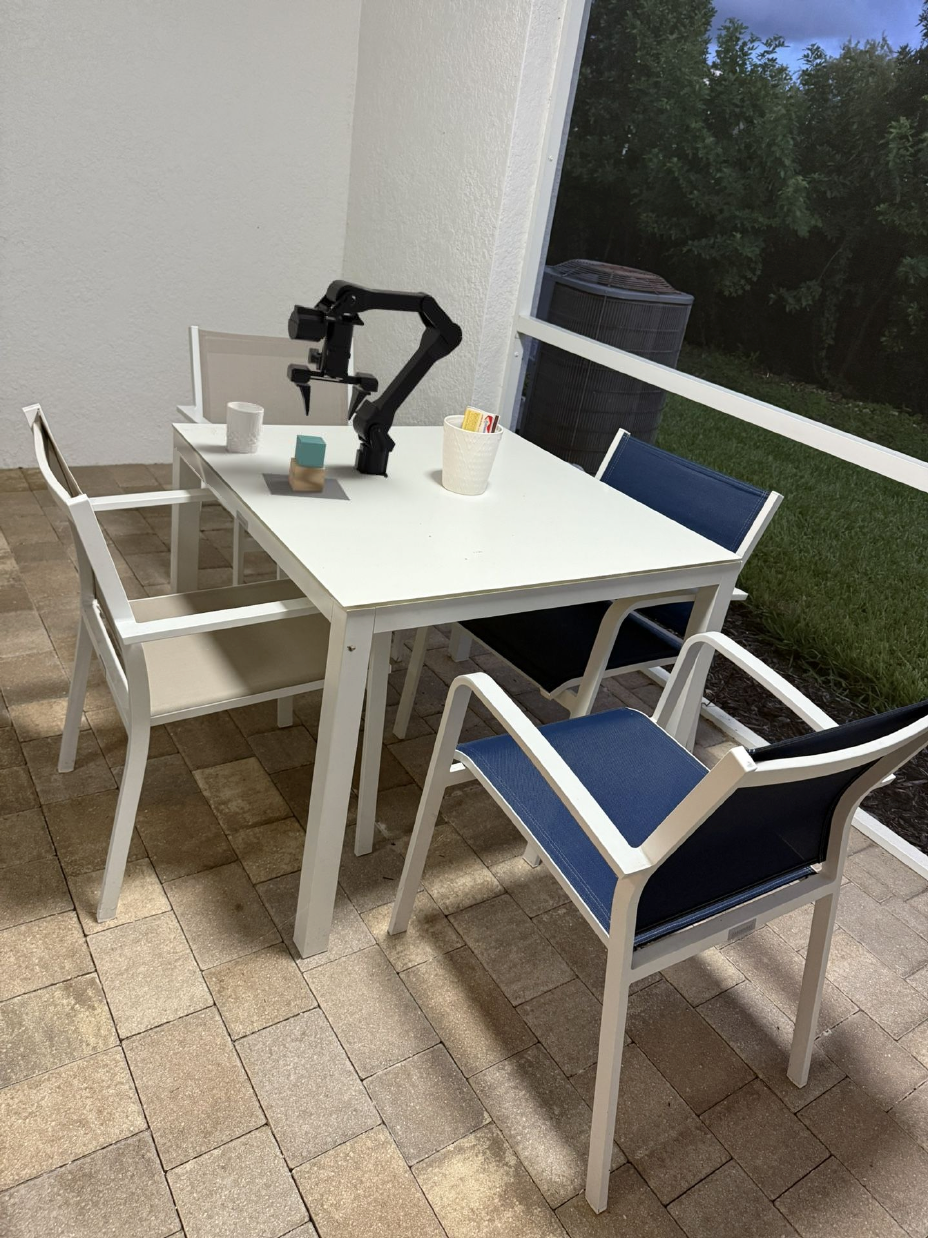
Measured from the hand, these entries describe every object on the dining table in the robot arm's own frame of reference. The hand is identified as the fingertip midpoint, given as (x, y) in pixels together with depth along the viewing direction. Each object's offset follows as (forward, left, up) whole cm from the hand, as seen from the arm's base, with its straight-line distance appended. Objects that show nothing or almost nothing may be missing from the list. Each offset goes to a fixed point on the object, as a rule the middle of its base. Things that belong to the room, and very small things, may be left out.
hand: (327, 417), depth 197 cm
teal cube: (+6, +13, -6) cm, 16 cm away
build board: (+6, +13, -12) cm, 19 cm away
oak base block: (+6, +13, -12) cm, 18 cm away
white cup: (+16, -10, -12) cm, 23 cm away
